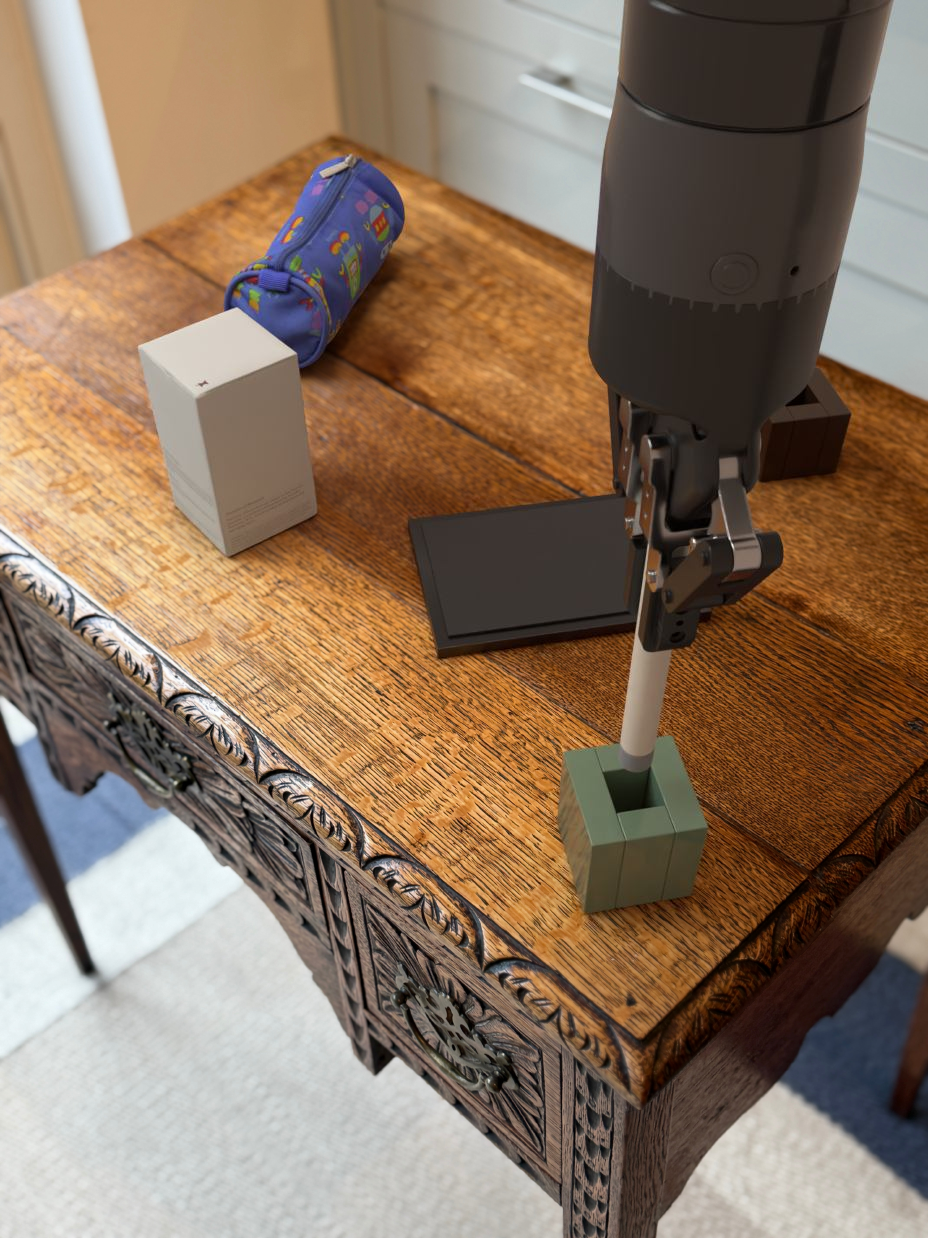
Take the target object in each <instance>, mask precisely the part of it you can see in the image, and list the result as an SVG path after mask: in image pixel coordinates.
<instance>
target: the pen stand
mask: <svg viewBox="0 0 928 1238" xmlns="http://www.w3.org/2000/svg"><path fill="white" fill-rule="evenodd" d="M673 736H674V735H671V734H670V735H664V736H663V735H662V736H657V738H656V744H655V750H654V755H653V761H652V764H651V766H650V767H649V768H648V769H647V770H645V771H643V772H630V771H628V770H626V769H624V768H623V767H622V766H621V764H620V763H619V760H618V753H619V746H620V742H619V743H612V744H606V745H605V744H604V745H599V746H595V747H594V746H592V747H584V748H576V749H571V750H570V749H569V750H565V751H563V752H562V761H561V771H560V783H559V794H558V807H557V815H556V816H557V817H556V823H557V824H556V825H557V827H558V830H559V834H560V837H561V841H562V845H563V847H564V851H565V856H566V858H567V862H568V866H569V869H570V873H571V876H572V880H573V882H574V886H575V890H576V894H577V896H578V901H579V904H580V907H581V910H582V913H583V914H584V915H586V914H587V915H588V914H594V913H600V912H605V911H610V910H614V909H621V908H627V907H632V906H638V905H639V906H640V905H645V904H650V903H657V902H661V901H662V902H663V901H668V900H675V899H681V898H686V897H687V898H688V897H690V896H692V895H693V892H694V887H695V885H696V884H695V883H696V879H697V876H698V872H699V868H700V864H701V860H702V855H703V852H704V847H705V844H706V839H707V835H708V831H709V824H708V822H707V819H706V817H705V813H704V812H703V810H702V807H701V804H700V801H699V799H698V797H697V794H696V791H695V788H694V786H693V784H692V781H691V779H690V777H689V773H688V771H687V768H686V766H685V763H684V761H683V759H682V756H681V754H680V751H679V749H678V745H677V744H676V741H675V739H674V737H673Z"/></svg>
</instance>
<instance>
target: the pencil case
mask: <svg viewBox="0 0 928 1238" xmlns="http://www.w3.org/2000/svg"><path fill="white" fill-rule="evenodd" d="M405 220H406V210H405V204H404V202H403V199H402V196H401V194H400V192H399V190H398V188H397V187H396V186H395V184H394V182H392V181H391V179H390V178H388V176H387V175H386V174H384V173H383V172H382V171H381V170H379V169H378V168H377V167H375V166H374V165H373V164H372V163H371V162H367V161H365V160H363V158H362V157H361V156H360V157H359V156H358V157H357V158H356V157H355V156H354V154H353V153H350V154H349V155H345V156H338V157H335V158H332V159H330V160H327V161H325V162H322V163H320V164H319V165H318V166H317V167H316V168H315V169H314V170H313V172H312V175H311V176H310V179H309V181H308V182H307V183H306V184H305V185H304V186H303V190H302V192H301V193H300V196H299V198H298V199H297V201H296V203H295V206H294V210H293V212H292V214H291V215H290V216H289V217H288V219H287V220H286V222H285V223H284V224H283V225H282V227H281V229H280V230H279V231H278V233H277V234H276V235H275V237H274V239H273V240H272V242H271V243H270V246H269V248H268V249H267V252H266V253H265V255H264V257H262V258H260V259H258V260H256V261H254V262H252V263H250V264H248V265H247V266H245V267H243V268H242V269H241V270H239V271H237V272H236V273H235V274H234V275H233V277H231V279H230V281H229V283H228V285H227V287H226V290H225V292H224V297H223V312H225V311H228V310H231V309H234V308H236V307H237V308H239V309H240V310H242V311H243V312H244V313H246V314H247V315H248V316H249V317H251V318H252V319H253V320H254V321H256V322H257V323H258V324H260V325H261V326H262V327H263V328H265V329H266V330H267V331H269V332H270V333H271V334H272V335H274V336H275V337H276V338H278V339H279V340H280V341H281V342H283V343H284V344H285V345H287V346H288V347H289V348H291V349H292V350H293V351H295V352H296V353H297V356H298V365H299V370H300V369H304V368H306V367H309V366H311V365H312V364H313V363H315V362H317V361H318V360H319V359H320V358H321V356H322V355H323V354H324V351H325V350H326V348H327V346H328V344H330V343H331V342H332V341H333V340H334V338H335V336H336V335H337V333H338V332H339V331H340V329H341V328H342V325H343V324H344V322H345V321H346V319H347V318H348V316H349V313H350V312H351V310H352V309H353V307H354V306H355V303H357V301H358V299H359V298H360V297H361V296H362V294H363V293H364V291H366V288H368V285H369V284H370V282H371V281H372V280H373V279H374V277H375V276H376V274H377V273H378V272H379V270H380V268H381V267H382V265H383V263H384V261H385V260H386V258H387V256H388V254H389V253H390V251H391V249H392V248H393V245H394V243H395V242H397V240H398V239H399V237H400V236H401V234H402V233H403V232H402V231H403V230H404V226H405Z"/></svg>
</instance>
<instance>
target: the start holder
mask: <svg viewBox="0 0 928 1238" xmlns="http://www.w3.org/2000/svg"><path fill="white" fill-rule="evenodd" d="M826 376H827V375H825V374H824V372H823V371H822V369H821V367H815V370H814V373H813V375H812V377H811V380H810V381H809V383H808V384H807V386H806V387H805V388H804V389H803V391H802V392H801V393H800V394H799V395H797V396H796V397H795V398H794V399H793V400H791V401H790V402H789V403H787V404H786V405H785V406H783V407H782V408H781V409H779V410H778V411H777V412H776V413H775V414H774V415H772V416H771V417H770V418H769V419H768V420H767V421H766V422H765V423H764V424H763V426H762V427H761V429H760V433H761V450H760V472H759V477H758V481H759V482H766V481H775V480H781V479H782V480H783V479H790V478H791V479H792V478H799V477H800V478H801V477H807V476H814V475H816V476H817V475H824V474H831V473H836V471H837V469H838V465H839V461H840V459H841V453H842V450H843V446H844V443H845V439H846V435H847V432H848V428H849V424H850V421H851V418H852V412H851V410H850V409H849V407H848V406H847V404H846V403H845V402H844V400H843V399H842V397H841V396H840V395H839V393H838V392H837V391H836V389H835V387H834V386H833V385H832V383H831V382H830V381H829V379H828V378H827V377H826Z"/></svg>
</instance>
